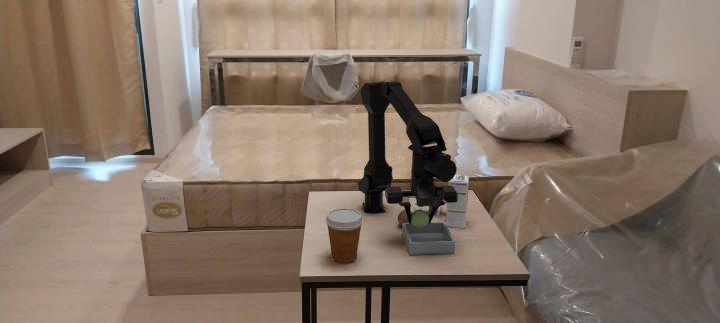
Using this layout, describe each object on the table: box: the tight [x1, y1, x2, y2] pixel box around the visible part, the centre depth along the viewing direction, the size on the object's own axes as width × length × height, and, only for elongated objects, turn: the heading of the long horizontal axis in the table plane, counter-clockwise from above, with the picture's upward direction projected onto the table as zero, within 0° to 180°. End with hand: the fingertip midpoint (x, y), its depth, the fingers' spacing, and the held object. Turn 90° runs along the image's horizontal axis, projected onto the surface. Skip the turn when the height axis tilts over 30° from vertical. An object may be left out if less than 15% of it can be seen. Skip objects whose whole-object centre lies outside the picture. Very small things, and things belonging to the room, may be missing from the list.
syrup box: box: [445, 173, 470, 229], centre depth 155 cm, size 6×6×14 cm
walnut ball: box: [397, 209, 414, 227], centre depth 154 cm, size 5×5×5 cm
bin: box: [401, 221, 457, 256], centre depth 144 cm, size 12×12×4 cm
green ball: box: [411, 208, 429, 228], centre depth 144 cm, size 5×5×5 cm
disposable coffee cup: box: [325, 207, 364, 264], centre depth 135 cm, size 10×10×12 cm
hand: (419, 223), depth 145 cm, fingers closed on green ball, 5 cm apart
